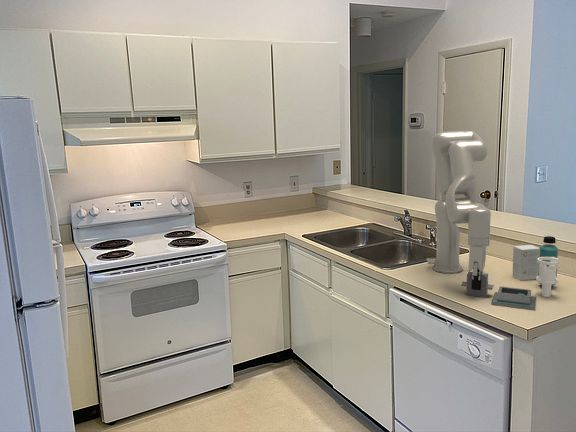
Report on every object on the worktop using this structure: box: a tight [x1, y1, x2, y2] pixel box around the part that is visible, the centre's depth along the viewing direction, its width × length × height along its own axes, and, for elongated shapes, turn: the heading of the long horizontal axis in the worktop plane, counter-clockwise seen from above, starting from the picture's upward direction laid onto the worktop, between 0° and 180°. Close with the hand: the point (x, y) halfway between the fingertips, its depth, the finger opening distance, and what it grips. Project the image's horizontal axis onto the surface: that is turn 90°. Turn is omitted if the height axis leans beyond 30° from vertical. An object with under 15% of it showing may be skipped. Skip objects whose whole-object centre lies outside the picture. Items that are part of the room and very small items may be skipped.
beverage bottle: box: [538, 235, 559, 287], centre depth 188 cm, size 6×7×20 cm
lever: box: [460, 270, 495, 298], centre depth 185 cm, size 11×4×9 cm, turn 61°
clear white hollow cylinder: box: [535, 257, 560, 298], centre depth 180 cm, size 7×7×15 cm
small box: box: [511, 244, 540, 281], centre depth 200 cm, size 8×6×13 cm
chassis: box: [490, 286, 537, 311], centre depth 176 cm, size 14×11×4 cm
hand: (477, 287), depth 185 cm, fingers closed on lever, 4 cm apart
